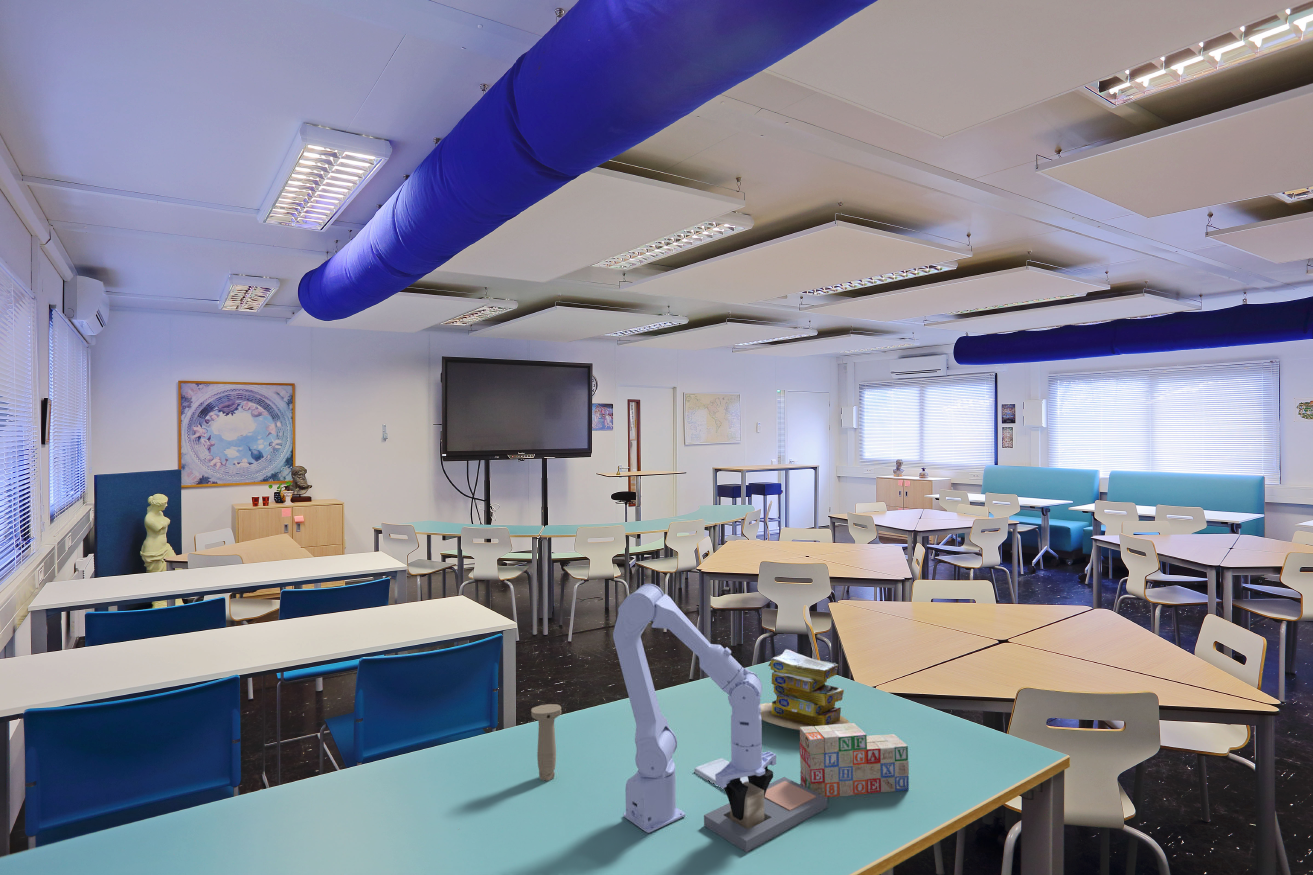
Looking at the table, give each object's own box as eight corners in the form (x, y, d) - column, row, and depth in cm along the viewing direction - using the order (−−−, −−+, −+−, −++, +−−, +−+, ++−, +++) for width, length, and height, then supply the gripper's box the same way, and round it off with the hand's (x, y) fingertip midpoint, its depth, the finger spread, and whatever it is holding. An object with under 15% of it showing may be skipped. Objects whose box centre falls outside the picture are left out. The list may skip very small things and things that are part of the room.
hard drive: (760, 778, 145) (722, 756, 155) (731, 790, 140) (694, 766, 150) (760, 786, 145) (722, 763, 155) (731, 798, 140) (694, 774, 150)
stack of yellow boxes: (788, 698, 193) (787, 639, 194) (868, 723, 176) (867, 658, 176) (731, 723, 176) (731, 658, 177) (814, 754, 158) (813, 682, 159)
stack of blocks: (895, 776, 148) (894, 719, 148) (909, 791, 141) (908, 731, 142) (799, 783, 145) (799, 725, 145) (810, 799, 139) (809, 738, 139)
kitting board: (746, 852, 121) (746, 839, 121) (704, 825, 129) (703, 813, 129) (827, 807, 135) (827, 796, 135) (784, 786, 144) (784, 775, 144)
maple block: (747, 836, 125) (747, 797, 126) (730, 825, 129) (729, 788, 129) (764, 827, 128) (764, 789, 128) (746, 817, 132) (746, 780, 132)
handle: (530, 775, 149) (529, 706, 150) (559, 770, 152) (558, 702, 152) (534, 785, 145) (533, 714, 145) (563, 780, 147) (563, 710, 147)
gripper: (734, 759, 121) (735, 836, 121) (788, 736, 130) (788, 807, 130) (707, 745, 127) (708, 819, 126) (760, 724, 136) (761, 793, 136)
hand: (747, 812), depth 129 cm, fingers closed on maple block, 4 cm apart
